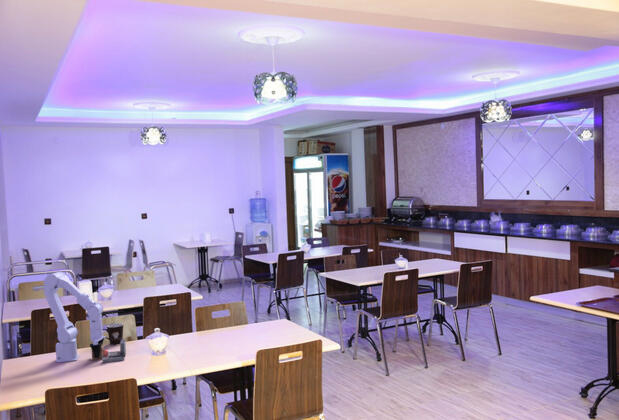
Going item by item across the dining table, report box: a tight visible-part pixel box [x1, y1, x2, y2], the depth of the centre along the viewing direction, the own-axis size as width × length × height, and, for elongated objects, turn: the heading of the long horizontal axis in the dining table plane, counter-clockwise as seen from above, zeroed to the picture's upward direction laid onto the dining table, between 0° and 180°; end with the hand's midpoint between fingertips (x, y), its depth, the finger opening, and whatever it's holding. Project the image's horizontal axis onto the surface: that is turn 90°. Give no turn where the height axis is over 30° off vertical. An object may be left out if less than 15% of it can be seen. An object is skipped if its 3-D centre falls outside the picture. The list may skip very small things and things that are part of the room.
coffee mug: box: [102, 322, 124, 346], centre depth 311 cm, size 12×9×10 cm
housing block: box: [91, 344, 105, 361], centre depth 283 cm, size 5×5×6 cm
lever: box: [101, 349, 109, 360], centre depth 277 cm, size 3×3×4 cm
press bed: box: [101, 338, 127, 364], centre depth 283 cm, size 10×14×7 cm
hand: (98, 355), depth 283 cm, fingers open, 7 cm apart
